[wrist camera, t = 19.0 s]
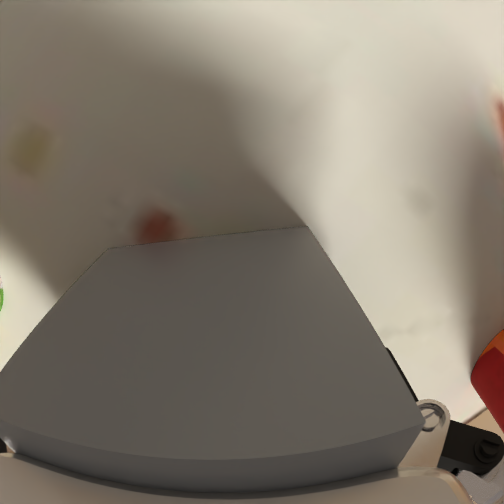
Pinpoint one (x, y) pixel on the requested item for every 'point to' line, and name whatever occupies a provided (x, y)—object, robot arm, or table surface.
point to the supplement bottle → (1, 294)
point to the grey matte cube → (210, 371)
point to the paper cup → (491, 378)
